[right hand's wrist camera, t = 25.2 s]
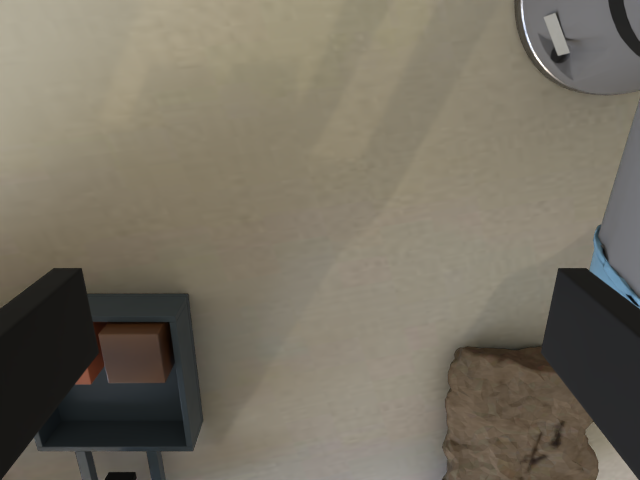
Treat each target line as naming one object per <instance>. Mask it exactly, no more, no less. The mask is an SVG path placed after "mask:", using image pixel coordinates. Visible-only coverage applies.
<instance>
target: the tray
mask: <svg viewBox="0 0 640 480" xmlns="http://www.w3.org/2000/svg"><path fill="white" fill-rule="evenodd" d="M87 296H88V301H89V306H90V311H91V316H92V320H93V322H169V323H170V330H171V337H172V345H173V352H174V359H175V364H174V366H173V368H172V370H171V372H170V374H169V376H168V378H167V380H166V382H165V383H108V379H107V374H106V369H105V366H104V367H103V369H102V370H101V371H100V373H99V374H98V376H97V377H96V378H95V380H94V381H93V383H92V384H75V385H74V386H73V387H72V389H71V390H70V391H69V393H68V394H67V395H66V396H65V398H64V399H63V400H62V402H61V403H60V404H59V406H58V407H57V408H56V409H55V411H54V412H53V413H52V415H51V416H50V417H49V418H48V420H47V421H46V422H45V424H44V425H43V426H42V428H41V429H40V430H39V431H38V433H37V434H36V435H35V437H34V439H35V442H36V445H37V449H38V451H75V453H76V457H77V461H78V465H79V469H80V473H81V477H82V480H98V477H97V473H96V469H95V465H94V461H93V456H92V452H91V451H147V457H148V462H149V468H150V473H151V479H152V480H165V474H164V468H163V462H162V456H161V451H193V450H194V447H195V444H196V441H197V438H198V435H199V432H200V428H201V425H202V423H203V416H202V407H201V399H200V390H199V382H198V374H197V365H196V357H195V348H194V340H193V331H192V323H191V315H190V306H189V298H188V294H87Z"/></svg>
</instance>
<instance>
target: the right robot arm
mask: <svg viewBox="0 0 640 480" xmlns="http://www.w3.org/2000/svg"><path fill="white" fill-rule="evenodd" d="M515 17H516V23H517V29H518V32H519V36H520V39H521V42H522V44H523V47H524V49H525V51H526V53H527V55H528V56H529V58H530V59H531V61H532V62H533V64H534V65H535V66H536V67H537V68H538V70H539V71H540V72H541V73H542V74H544V75H545V76H546V77H547V78H548V79H550V80H551V81H553V82H554V83H556V84H558V85H560V86H561V87H564V88H566V89H569V90H572V91H575V92H579V93H586V94H594V95H617V94H624V93H630V92H636V91H640V0H515ZM593 241H594V248H595V249H594V253H593V257H592V261H591V266H590V270H588V269H586V268H558V273H557V277H556V282H555V287H554V292H553V296H552V301H551V306H550V311H549V316H548V320H547V325H546V330H545V335H544V340H543V344H542V349H541V354H542V355H543V356H544V358H545V359H546V360H547V361H548V363H549V364H550V365H551V367H552V368H553V369H554V371H555V372H556V373H557V374H558V376H559V377H560V378H561V380H562V381H563V382H564V384H565V385H566V386H567V387H568V389H569V390H570V391H571V393H572V394H573V395H574V396H575V398H576V399H577V400H578V402H579V403H580V404H581V406H582V407H583V408H584V409H585V411H586V412H587V413H588V415H589V416H590V417H591V418H592V420H593V421H594V422H595V424H596V425H597V426H598V428H599V429H600V430H601V431H602V433H603V434H604V435H605V437H606V438H607V439H608V441H609V442H610V443H611V444H612V446H613V447H614V448H615V450H616V451H617V452H618V453H619V455H620V456H621V457H622V459H623V460H624V461H625V463H626V464H627V465H628V466H629V468H630V469H631V470H632V472H633V473H634V474H635V475H636V477H637V478H638V479H639V480H640V99H639V103H638V106H637V109H636V113H635V116H634V119H633V122H632V126H631V129H630V132H629V136H628V139H627V142H626V145H625V149H624V152H623V155H622V159H621V162H620V165H619V168H618V172H617V175H616V178H615V182H614V185H613V188H612V191H611V195H610V198H609V201H608V205H607V208H606V211H605V214H604V218H603V221H602V224H601V225H599V226H598V227H597V229H596V231H595V234H594V240H593ZM98 354H99V349H98V344H97V340H96V335H95V330H94V325H93V320H92V316H91V311H90V306H89V301H88V296H87V292H86V287H85V282H84V277H83V273H82V268H54V269H52V270H51V271H50V272H48V273H47V274H46V275H44V276H43V277H42V278H40V279H39V280H38V281H36V282H35V283H34V284H32V285H31V286H30V287H28V288H27V289H26V290H24V291H23V292H22V293H20V294H19V295H18V296H17V297H15V298H14V299H13V300H11V301H10V302H9V303H7V304H6V305H5V306H3V307H2V308H1V309H0V480H1V479H2V478H3V477H4V475H5V474H6V473H7V472H8V470H9V469H10V468H11V466H12V465H13V464H14V463H15V461H16V460H17V459H18V457H19V456H20V455H21V453H22V452H23V451H24V450H25V448H26V447H27V446H28V444H29V443H30V442H31V441H32V439H33V438H34V437H35V435H36V434H37V433H38V431H39V430H40V429H41V428H42V426H43V425H44V424H45V422H46V421H47V420H48V418H49V417H50V416H51V415H52V413H53V412H54V411H55V409H56V408H57V407H58V406H59V404H60V403H61V402H62V400H63V399H64V398H65V396H66V395H67V394H68V393H69V391H70V390H71V389H72V387H73V386H74V385H75V384H76V382H77V381H78V380H79V378H80V377H81V376H82V374H83V373H84V372H85V371H86V369H87V368H88V367H89V365H90V364H91V363H92V361H93V360H94V359H95V358H96V356H97V355H98Z"/></svg>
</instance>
